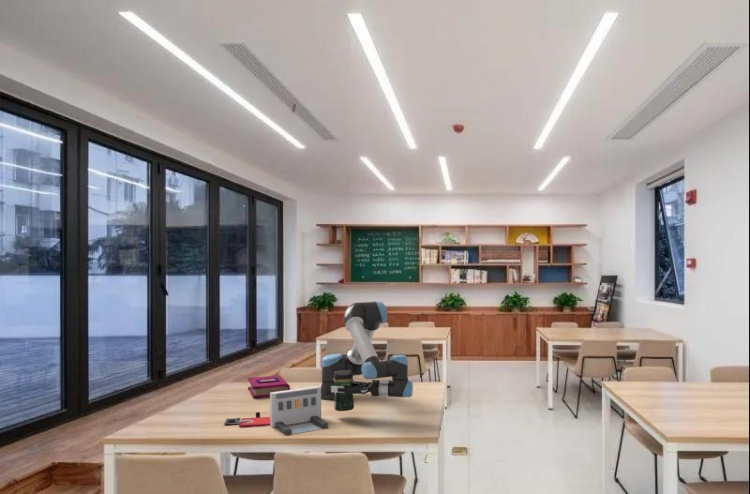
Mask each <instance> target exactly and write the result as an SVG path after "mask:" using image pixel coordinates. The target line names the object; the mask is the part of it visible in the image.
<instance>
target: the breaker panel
mask: <svg viewBox="0 0 750 494" xmlns="http://www.w3.org/2000/svg"><path fill="white" fill-rule="evenodd" d="M269 413H270V414H269V417H270V427H271V428H276V427H275V422H281V421H282V422H283V423H284V424H286V425H287V426H290V425H294V424H300V423H307V422H311V418H310V417H311V416H318V417H319V418H321V419H322V399H321V386H320V385H316V386H310V387H309V386H308V387H302V388H301V387H300V388H295V389H290V390H286V391H278V392H271V393H270V397H269Z"/></svg>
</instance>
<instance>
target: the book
mask: <svg viewBox="0 0 750 494" xmlns="http://www.w3.org/2000/svg"><path fill="white" fill-rule="evenodd" d="M247 381H248V382H249V384H250V386H248V387H247V390H248V392H249V393H250V395H251V397H252V399H253V400H255V399H257V400H258V399H264V398H265V397H266V398H270V393H271V392H278V391H286V390H291V387H290V386H291V385H289V383H288V382H287V381H286V380H285V379H284V378H283V376H281V375H279V374H277V375H268V376H267V375H266V376H257V377H248V378H247Z"/></svg>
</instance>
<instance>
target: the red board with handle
mask: <svg viewBox="0 0 750 494" xmlns="http://www.w3.org/2000/svg"><path fill="white" fill-rule="evenodd" d="M234 424H235V425H236V424H237V425H238V427H242V428H253V427H252V426H257V427H266V426H265V425H270V416H263V417H261V412H260V411H257V412H255V417H242V418H241V417H239V418H237V417H236V418H226V419H225V422H224V425H234Z"/></svg>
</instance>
